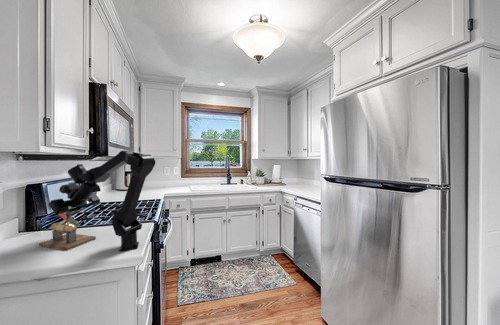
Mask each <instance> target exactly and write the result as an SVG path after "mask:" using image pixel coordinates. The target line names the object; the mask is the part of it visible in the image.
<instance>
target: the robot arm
mask: <svg viewBox="0 0 500 325" xmlns="http://www.w3.org/2000/svg"><path fill="white" fill-rule="evenodd" d="M124 165H128V166H130V167H129V168H130V172H131V177H130V180H129V184H128V188H127V191H126V193H125V195H124V196H125V197H124V200H123V203H122V205H121V207H120V208H117V209H115V210H114V211H113V216H112V217H111V220H112V222H111V224H112V227H113V231H114V234H115V236H118V237H120V244H121V245H120V247H119V249H118V251H119V252H122V251H128V250H136V249H138V248H139V244H140V242H139V241H138V231H139V230H142V227H143V224H142V223H141V221H140V220H139V219H138V213H137V209H136V208H137V205H138V202H139V199H140V196H141V192H142V191H143V188H144V187H143V186H144V184H145V181H146V178H147V177H148V176H149V175H150V174H151V172H152V171H153V170H154V168H155V165H156V160H155V157H154V156H153V155H152V154H144V153H140V152H135V151H134V150H120V151H119V152H118V153H117V154H116V155H115V156H113V157H112V158H110V159H108V160H107V161H106V162H104V163H103V164H101V165H99V166H96V167H92V168H90V169H88V170H87V169H86V168H85V166H84V165H83V164H81V163H80V164H77V165H74V166H73V167H71V168H70V169H68V171H67V174H68V175H69V177H70V178H71V179H72V181H73V182H74V183H66V184H63V185H61V186H60V187H59V189H58V190H59V192H60V193H61V194H66V195H67V196H66V197H67V199H68V200H67V199H66V200H64V199H63V198H56V199H51V200H50V202H49V203H48V206H49V207H50V209H51V210H52V211H53V213H54V214H55V215H57V216H59V214H62V213H65V212H66V215H67V216H68V215H71V216H72V215H73V214H75V213H77V212H80V211H82V210H84V209H87V206H86V205H88V204H89V203H90V204H91V206H92V207H94V206H99V204H100V203H101V200H100V198H99V197H98V195H97V194H96V193H99V192H101V191H102V190H101V188H100V183H104V182H106V181H107V180H109V178H110V177H111V174H112V173H113V172H116V170H118V169H120V168H121V167H123V166H124ZM98 184H99V185H98Z"/></svg>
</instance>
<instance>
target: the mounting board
mask: <svg viewBox="0 0 500 325" xmlns="http://www.w3.org/2000/svg"><path fill="white" fill-rule="evenodd" d="M62 235H63V239H62V240H59V241H56V242H55V241H53V238H51V239H47V240H44V241H42V242H39V243H38V244H39V245H38V246H39V247H42V248H49V249H56V250H62V251H69V250H70V251H71V250H72V249H74V248H77V247H79V246H82V245H85V244H87V243H90V242H92V241H95V240H96V236H95V235H87V234H78V233H76V241H75V242H72V243H70V244H69V243H67V241H66V233H65V234H62Z"/></svg>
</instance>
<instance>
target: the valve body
mask: <svg viewBox="0 0 500 325" xmlns="http://www.w3.org/2000/svg"><path fill="white" fill-rule="evenodd" d="M50 229H51V230H52V231H51V232H52V234H51V235H52V239H53V241H55V242H56V241H59V240H62V239H63V235H65V234H66V241H67V243H69V244H70V243H72V242H75V241H76V234H77V229H78V226H76V225H74V223H73V224H71V223H70V222H69V221H61V222H55V223H52V224H51V225H50Z"/></svg>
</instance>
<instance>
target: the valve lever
mask: <svg viewBox="0 0 500 325" xmlns="http://www.w3.org/2000/svg"><path fill="white" fill-rule="evenodd" d="M58 216H59V217H60V218H62V219H63V220H64V222H69V223H70V224H73V223H74V225H76V226H77V227H78V226H80V222H79V221H78V220H75V219H74V218H73V217H72V214H71V215H68V216H67V215H66V212H65V213H62V214H58Z"/></svg>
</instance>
